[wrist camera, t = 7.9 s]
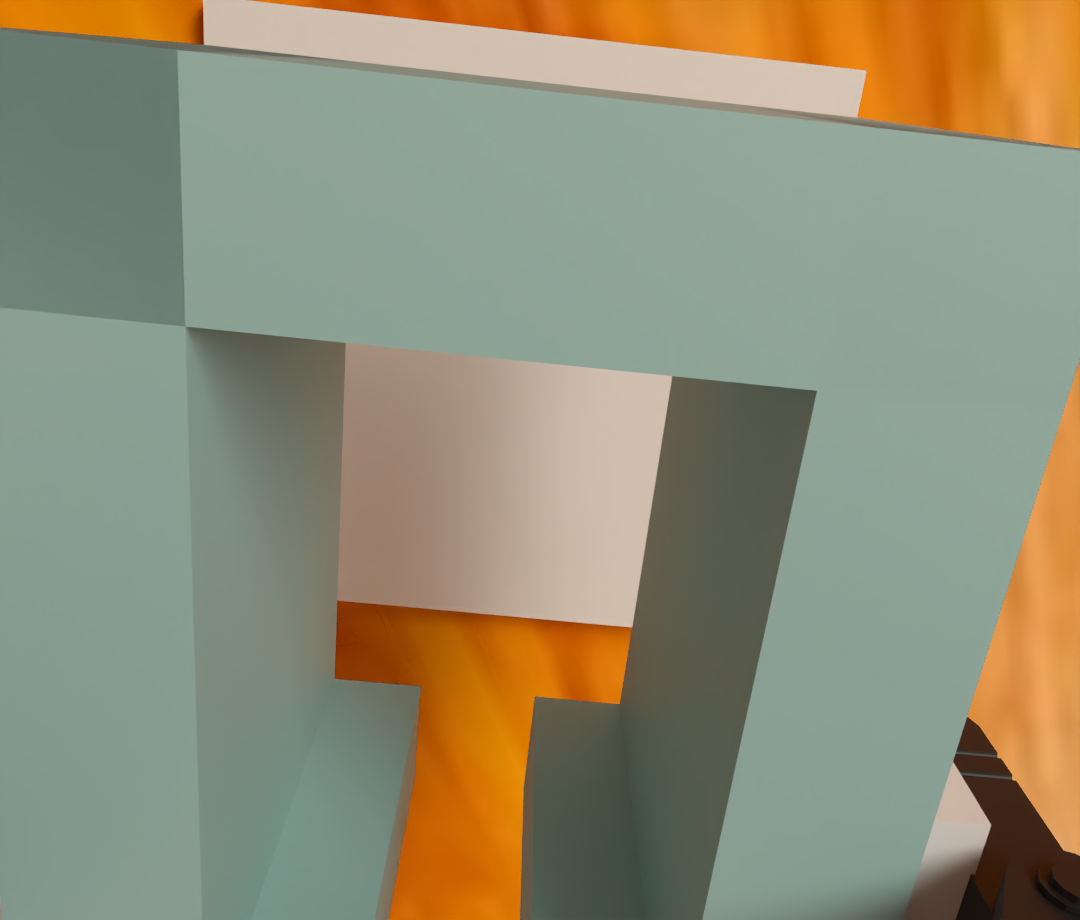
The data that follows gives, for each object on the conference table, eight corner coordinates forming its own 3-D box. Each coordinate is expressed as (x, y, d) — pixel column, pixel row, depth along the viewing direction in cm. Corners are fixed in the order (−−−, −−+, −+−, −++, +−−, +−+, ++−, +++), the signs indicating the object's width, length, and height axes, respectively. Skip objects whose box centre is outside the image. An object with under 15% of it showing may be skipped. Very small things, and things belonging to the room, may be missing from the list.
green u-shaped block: (207, 44, 13) (-113, 17, 7) (858, 117, 14) (1143, 157, 7) (220, 762, 18) (33, 1161, 11) (713, 805, 18) (809, 1218, 12)
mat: (211, -3, 21) (203, -5, 20) (858, 70, 21) (867, 70, 21) (221, 578, 26) (213, 589, 25) (743, 626, 27) (747, 637, 26)
